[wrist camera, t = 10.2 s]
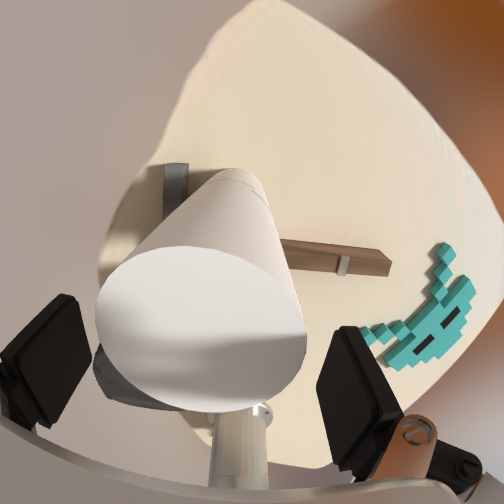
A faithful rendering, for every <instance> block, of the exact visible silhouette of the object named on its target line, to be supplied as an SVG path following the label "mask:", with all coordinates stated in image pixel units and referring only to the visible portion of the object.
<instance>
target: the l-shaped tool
mask: <svg viewBox="0 0 504 504" xmlns="http://www.w3.org/2000/svg"><path fill="white" fill-rule="evenodd" d="M188 169H189V164H185V163H170V164H166V165H165V169H164V191H163V221H164V220H165V219H166V218H167V217H168V216H169V215H170V214H171V213H172V212H173V211H175V210H176V209H177V208H178V207H179V206H180V205H181V204H182V203H183V202H184V201H185V200H187V184H188ZM280 242H281V245H282V248H283V252H284V255H285V258H286V261H287V265H288V268H289V269H298V270H309V271H321V272H333V273H337V276H345V274H358V275H371V276H385V277H388V274H389V271H390V267H391V264H392V261H391V260H390V259H388V258H387V257H386V256H385V255H384V254H383V253H382V252H381V251H380V250H376V249H368V248H359V247H350V246H341V245H332V244H323V243H314V242H305V241H295V240H285V239H280Z"/></svg>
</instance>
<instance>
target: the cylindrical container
mask: <svg viewBox="0 0 504 504" xmlns="http://www.w3.org/2000/svg"><path fill="white" fill-rule="evenodd" d="M95 323H96V327H97V332H98V337H99V340H100V343H101V345H102V347H103V349H104V351H105V354H106V355H107V357H108V358H109V360H110V361H111V362H112V364H113V365H114V367H115V368H116V369H117V370H118V371H119V372H120V373H121V374H122V375H123V376H124V377H125V379H126V380H128V381H129V382H130V383H131V384H133V385H134V386H135V387H137V388H138V389H139V390H141V391H142V392H144V393H146V394H147V395H149V396H151V397H153V398H155V399H157V400H159V401H161V402H164V403H166V404H168V405H172V406H175V407H178V408H182V409H186V410H192V411H198V412H219V413H222V412H230V411H238V410H242V409H246V408H249V407H253V406H256V405H258V404H260V403H262V402H265V401H267V400H269V399H270V398H272V397H274V396H275V395H277V394H278V393H280V392H281V391H282V390H283V389H284V388H285V387H286V386H287V385H288V384H289V383H290V382H291V381H292V380H293V379H294V377H295V376H296V374H297V373H298V371H299V370H300V368H301V366H302V363H303V360H304V357H305V354H306V345H307V333H306V328H305V324H304V319H303V315H302V312H301V308H300V305H299V301H298V298H297V295H296V291H295V288H294V285H293V281H292V278H291V275H290V271H289V268H288V265H287V261H286V258H285V255H284V252H283V248H282V245H281V242H280V239H279V236H278V233H277V230H276V226H275V223H274V220H273V217H272V214H271V211H270V208H269V205H268V202H267V199H266V196H265V193H264V190H263V187H262V185H261V183H260V182H259V180H258V179H257V178H256V177H255V176H254V175H253V174H251V173H250V172H248V171H245V170H242V169H237V168H231V169H225V170H222V171H220V172H218V173H216V174H215V175H214V176H213V177H212V178H210V179H209V180H208V181H207V182H206V183H205V184H203V185H202V186H201V187H200V188H199V189H198V190H197V191H195V192H194V193H193V194H192V195H191V196H190V197H189V198H188V199H187V200H185V201H184V202H183V203H182V204H181V205H180V206H179V207H178V208H177V209H176V210H175V211H173V212H172V213H171V214H170V215H169V216H168V217H167V218H166V219H165V220H164V221H163V222H162V223H161V224H160V225H159V226H158V227H157V228H156V229H155V230H153V231H152V232H151V233H150V234H149V235H148V236H147V237H146V238H145V239H144V240H143V241H142V242H141V243H140V244H139V245H138V246H137V247H136V248H135V249H134V250H133V251H132V252H131V253H130V254H129V256H128V257H127V258H126V259H125V260H124V261H123V262H122V263H121V264H120V265H119V266H118V267H117V268H116V269H115V270H114V271H113V272H112V273H111V274H110V276H109V277H108V278H107V280H106V281H105V283H104V285H103V286H102V288H101V290H100V293H99V296H98V300H97V303H96V313H95Z"/></svg>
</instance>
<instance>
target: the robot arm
mask: <svg viewBox="0 0 504 504" xmlns="http://www.w3.org/2000/svg"><path fill="white" fill-rule="evenodd" d="M0 358H1V360H2V362H1V363H0V504H504V484H502V483H501V482H499V481H498V480H497V479H496V478H494V477H493V476H492V475H490V474H489V473H488V472H485V473H484V474H483V473H482V464H481V462H480V460H479V459H478V458H477V456H475V455H474V454H472V453H470V452H467V451H464V450H462V449H459V448H457V447H455V446H452V445H450V444H447V443H445V442H443V441H440V440H438V439H437V430H436V427H435V426H434V424H433V423H432V422H431V421H430V420H429V419H428V418H426V417H424V416H422V415H418V414H410V415H407V416H404V414H403V412H402V410H401V408H400V406H399V404H398V402H397V399H396V397H395V395H394V393H393V391H392V389H391V388H390V386H389V384H388V382H387V380H386V378H385V376H384V374H383V372H382V370H381V368H380V366H379V365H378V363H377V362H376V360H375V358H374V356H373V354H372V352H371V350H370V349H369V347H368V345H367V343H366V341H365V339H364V338H363V336H362V334H361V332H360V330H359V328H358V327H357V326H341V327H340V328H339V330H335V332H334V334H333V337H332V340H331V343H330V346H329V349H328V352H327V355H326V358H325V361H324V364H323V367H322V370H321V372H320V375H319V378H318V381H317V384H316V392H317V396H318V400H319V404H320V408H321V412H322V416H323V421H324V425H325V429H326V433H327V438H328V442H329V446H330V451H331V455H332V459H333V463H334V464H335V465H338V466H339V470H340V472H341V471H347V470H352V474H353V476H354V478H353V479H352V481H351V482H350V483H348V484H342V485H334V486H326V487H316V488H303V489H285V490H269V488H268V470H267V449H266V430H265V428H266V427H268V426H269V425H270V424H271V423H272V421H273V412H272V410H271V408H270V407H269V406H268V405H267V404H265V403H264V402H262V403H260V404H258V405H256V406H253V407H249V408H246V409H242V410H238V411H230V412H222V413H219V412H207V420H208V421H209V423H210V424H211V425H212V426H213V427H214V428H213V438H212V449H211V459H210V470H209V482H208V487H206V486H198V485H191V484H184V483H178V482H173V481H167V480H162V479H158V478H153V477H148V476H145V475H141V474H136V473H133V472H129V471H126V470H122V469H119V468H116V467H112V466H110V465H106V464H104V463H101V462H98V461H95V460H92V459H90V458H87V457H84V456H82V455H79V454H77V453H74V452H72V451H69V450H67V449H65V448H62V447H61V446H58V445H56V444H54V443H52V442H50V441H48V440H46V439H44V438H42V437H40V436H38V435H37V431H36V427H35V424H36V422H38V423H39V424H40V425H42V426H44V427H46V428H48V429H50V428H51V426H52V424H54V423H56V422H57V421H58V419H59V417H60V415H61V413H62V412H63V410H64V408H65V406H66V404H67V403H68V401H69V399H70V397H71V396H72V394H73V392H74V391H75V389H76V387H77V385H78V384H79V382H80V380H81V379H82V377H83V375H84V374H85V372H86V370H87V369H88V367H89V366H90V363H91V361H92V354H91V351H90V347H89V344H88V340H87V336H86V333H85V329H84V324H83V320H82V317H81V311H80V307H79V303H78V301H76V299H75V297H73V296H70V295H66V294H59V295H58V296H57V297H56V298H54V300H52V301H51V302H50V303H49V304H48V305H47V306H46V307H45V308H44V309H43V310H42V311H41V312H40V313H39V314H38V315H37V316H36V317H35V318H34V319H33V320H32V321H31V322H30V323H29V324H28V325H27V326H26V327H25V328H24V329H23V330H22V331H21V332H20V333H19V334H18V335H17V336H16V337H15V338H14V339H13V340H12V341H11V342H10V343H9V344H8V345H7V346H6V348H5V349H4V350H3V351H2V352H1V353H0Z"/></svg>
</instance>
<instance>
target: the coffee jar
mask: <svg viewBox="0 0 504 504" xmlns="http://www.w3.org/2000/svg"><path fill="white" fill-rule="evenodd" d="M93 371H94V374H95V377H96V380H97V382H98V384H99V386H100V387H101V389H102V391H103V392H104V394H105V396H106V397H107V398H108V399H113V400H116V401H118V402H121V403H124V404H128V405H132V406H138V407H144V408H150V409H159V410H168V411H184V410H186V409H182V408H178V407H175V406H172V405H168V404H166V403H164V402H161V401H159V400H157V399H155V398H153V397H151V396H149V395H147V394H146V393H144V392H142V391H141V390H139V389H138V388H137V387H135V386H134V385H133V384H131V383H130V382H129V381H128V380H126V379H125V377H124V376H123V375H122V374H121V373H120V372H119V371H118V370H117V369H116V368H115V367H114V365H113V364H112V362H111V361H110V360H109V358H108V357H107V355H106V354H105V351H104V349H103V347H102V345H101V343H100V344H99V346H98V349H97V351H96V353H95V357H94V362H93Z"/></svg>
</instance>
